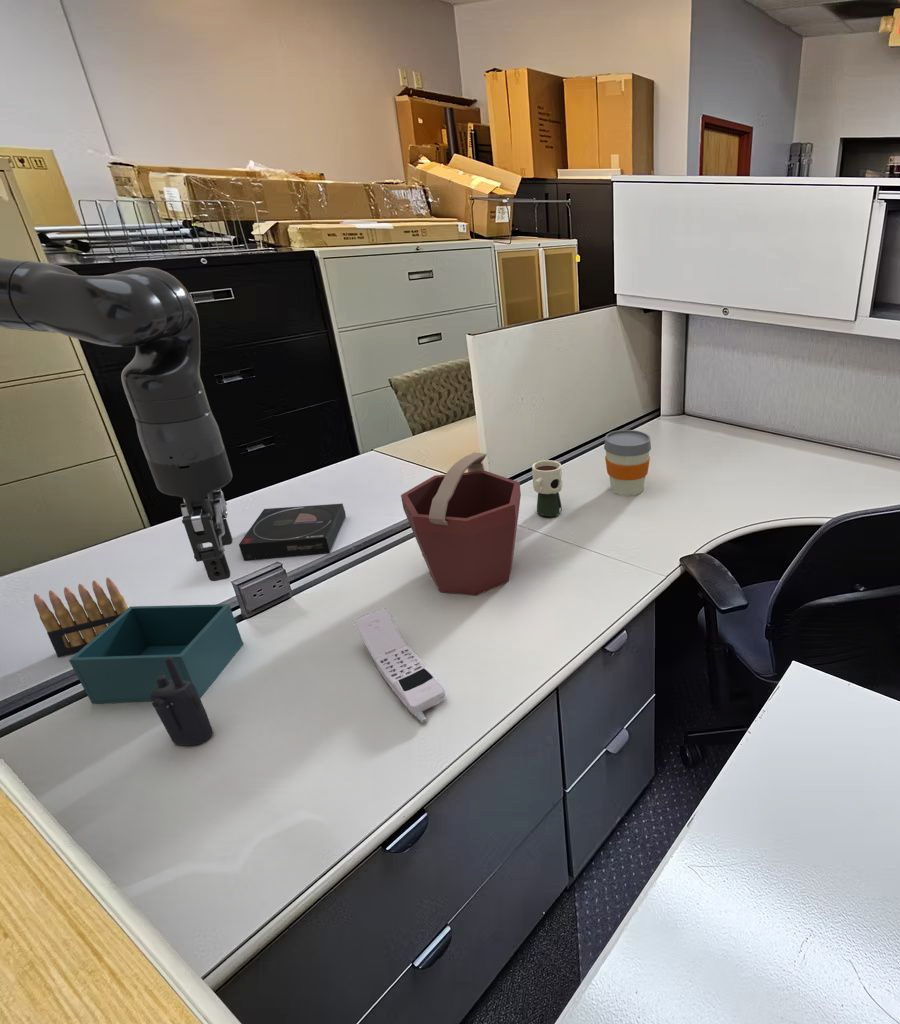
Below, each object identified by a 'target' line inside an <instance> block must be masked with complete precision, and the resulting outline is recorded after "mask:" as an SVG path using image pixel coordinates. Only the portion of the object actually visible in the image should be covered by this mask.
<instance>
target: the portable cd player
mask: <svg viewBox="0 0 900 1024" xmlns="http://www.w3.org/2000/svg"><path fill="white" fill-rule="evenodd" d="M346 519H347V516H346V510H345V507H344V503H330V504H329V503H328V504H315V505H302V506H300V505H299V506H287V507H284V506H283V507H273V508H272V507H271V508H264V509H263V510H262V511H261V513H260V514H259V515H258V517H257V518H256V519H255V521H254V522H253V524H252V525H251V526H250V527H249V529H248V531H247V532H246V534H245V535H244V537H243V538H242V539H241V540H240V542H239V543H238V547H239V550H240V553H241V557H242V559H243V561H244V562H246V561H248V562H249V561H257V560H269V559H271V560H272V559H280V558H282V559H283V558H293V557H304V556H315V555H316V556H317V555H327V554H328V553H329V554H331V552H332V551H333V548H334V545H335V544H336V541H337V539H338V537H339V535H340V533H341V530H342V528H343V526H344V524H345V521H346Z"/></svg>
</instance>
